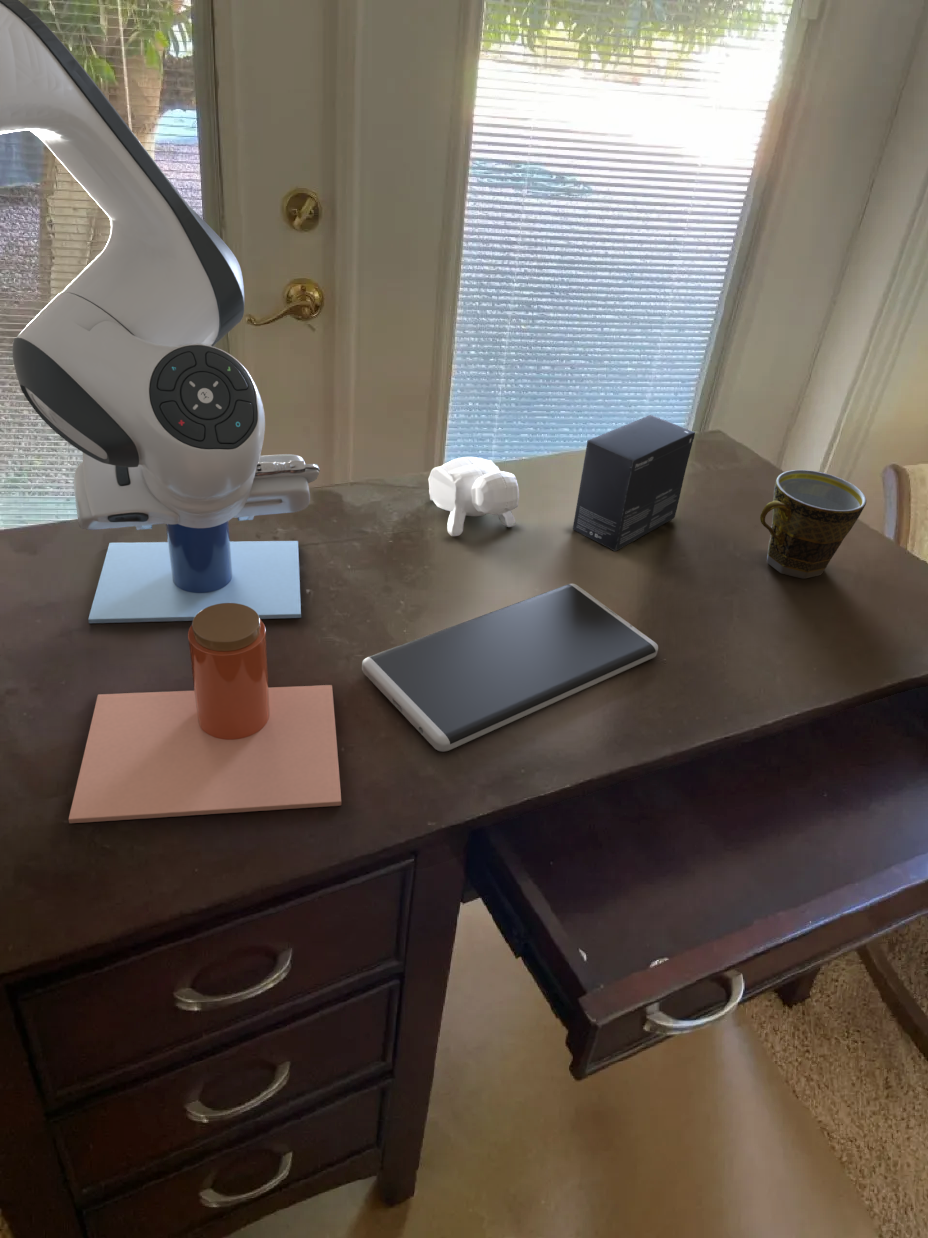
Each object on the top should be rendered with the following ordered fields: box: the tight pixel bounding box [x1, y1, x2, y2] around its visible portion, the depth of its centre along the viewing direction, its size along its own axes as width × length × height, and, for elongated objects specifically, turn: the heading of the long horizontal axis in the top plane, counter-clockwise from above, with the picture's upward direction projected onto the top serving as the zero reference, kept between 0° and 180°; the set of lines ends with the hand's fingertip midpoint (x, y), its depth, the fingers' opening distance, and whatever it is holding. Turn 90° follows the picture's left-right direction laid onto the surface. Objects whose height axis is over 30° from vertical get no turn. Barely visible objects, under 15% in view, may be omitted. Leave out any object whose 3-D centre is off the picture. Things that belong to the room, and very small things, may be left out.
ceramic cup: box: [759, 469, 867, 580], centre depth 103 cm, size 13×10×10 cm
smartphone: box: [361, 583, 659, 753], centre depth 85 cm, size 13×27×2 cm, turn 127°
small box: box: [572, 414, 696, 552], centre depth 107 cm, size 13×7×12 cm, turn 136°
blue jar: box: [165, 521, 232, 593], centre depth 89 cm, size 6×6×10 cm
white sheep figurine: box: [427, 456, 520, 537], centre depth 105 cm, size 9×8×15 cm
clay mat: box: [68, 684, 342, 824], centre depth 73 cm, size 20×14×1 cm
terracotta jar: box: [187, 603, 270, 740], centre depth 73 cm, size 6×6×10 cm
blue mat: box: [87, 540, 302, 624], centre depth 92 cm, size 20×14×1 cm
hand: (194, 516), depth 86 cm, fingers open, 8 cm apart
